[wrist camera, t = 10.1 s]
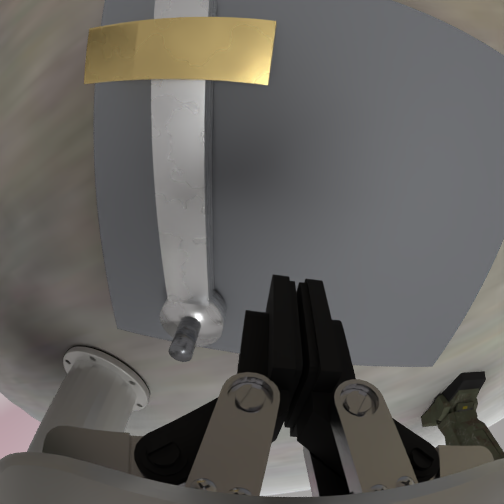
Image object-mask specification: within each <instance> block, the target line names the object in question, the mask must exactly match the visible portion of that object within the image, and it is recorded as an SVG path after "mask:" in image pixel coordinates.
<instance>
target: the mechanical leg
mask: <svg viewBox="0 0 504 504" xmlns="http://www.w3.org/2000/svg"><path fill="white" fill-rule="evenodd" d="M485 380H486V378H485V372H471V373H462V374H460V375H459V376H458V377H457V378H456V379H455V380H454V381H453V383H452V384H451V385H450V386H449V387H448V388H447V389H446V390H445V391H444V392H443V393H442V395H439V396H438V397H437V399H436V400H435V403H433V404H432V405H431V407H430V408H429V410H428V411H427V412H426V413H425V414H424V415H423V416H422V417H421V419H422V426H423V427H427V426H437V425H438V428H439V430H440V431H441V432H442V433H443V435H444V436H445V441H446V445H449V446H484V447H486V448H487V449H489V451H490V452H491V453H492V456H493V459H494V461H495V460H498V459H503V458H504V452H503V451H502V449H501V448H500V446H499V444H498V443H497V441H496V440H495V438H494V437H493V435H492V434H491V432H490V431H489V429H488V428H487V426H486V425H485V423H483V422H481V421H480V420H478V418H477V413H476V408H477V405H478V401H477V399H476V397H477V395H478V393H479V391H480V389H481V387H482V385H483V384H484V382H485Z"/></svg>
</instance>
